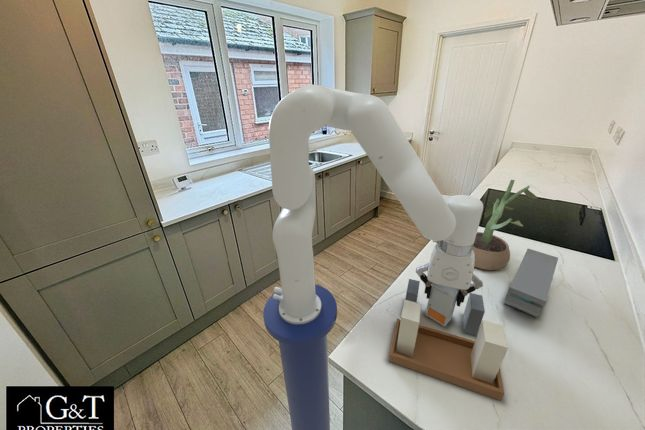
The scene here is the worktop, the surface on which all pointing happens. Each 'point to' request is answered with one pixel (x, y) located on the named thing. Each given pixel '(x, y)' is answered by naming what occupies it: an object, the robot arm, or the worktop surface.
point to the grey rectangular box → (532, 282)
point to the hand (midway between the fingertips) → (442, 298)
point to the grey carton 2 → (473, 314)
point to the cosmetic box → (441, 303)
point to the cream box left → (408, 327)
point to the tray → (444, 360)
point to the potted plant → (492, 248)
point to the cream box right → (488, 351)
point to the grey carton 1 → (412, 290)
